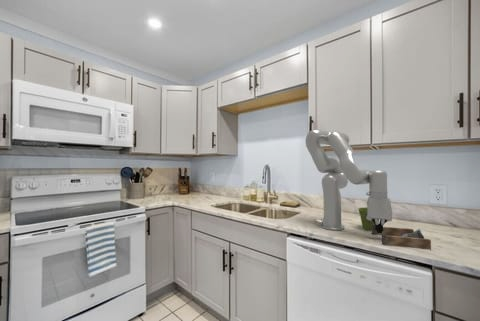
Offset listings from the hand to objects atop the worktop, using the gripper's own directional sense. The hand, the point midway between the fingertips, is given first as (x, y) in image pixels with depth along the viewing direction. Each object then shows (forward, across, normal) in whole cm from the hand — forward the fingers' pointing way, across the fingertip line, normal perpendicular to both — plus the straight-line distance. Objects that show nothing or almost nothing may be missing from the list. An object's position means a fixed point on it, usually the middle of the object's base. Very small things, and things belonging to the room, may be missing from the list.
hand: (379, 232), depth 105 cm
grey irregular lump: (+4, +13, +1) cm, 14 cm away
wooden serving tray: (+3, +8, 0) cm, 9 cm away
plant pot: (+3, 0, +17) cm, 18 cm away
